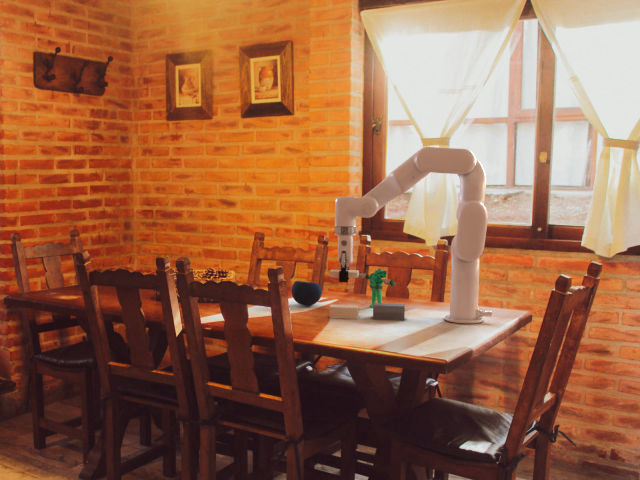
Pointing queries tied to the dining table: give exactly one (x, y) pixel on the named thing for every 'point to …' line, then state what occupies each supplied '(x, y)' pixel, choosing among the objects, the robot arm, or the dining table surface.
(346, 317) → the cream book
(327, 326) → the dining table surface
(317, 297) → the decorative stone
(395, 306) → the grey book
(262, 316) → the dining table surface
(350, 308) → the cream book
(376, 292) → the toy
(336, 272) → the cream book
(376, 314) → the grey book
